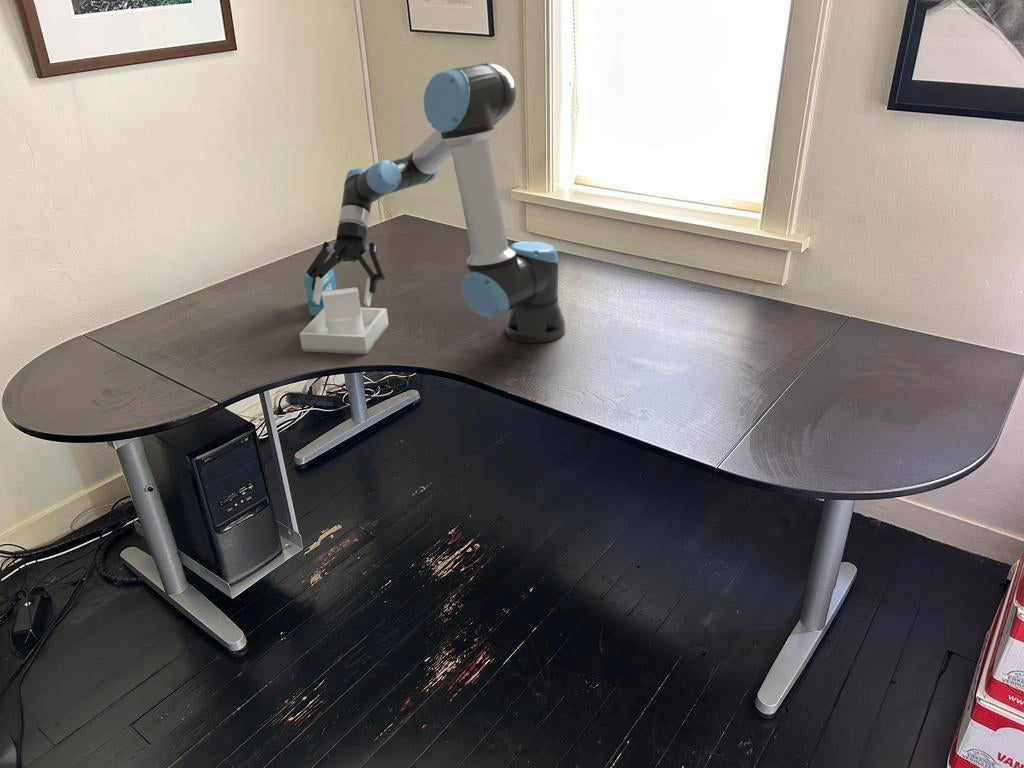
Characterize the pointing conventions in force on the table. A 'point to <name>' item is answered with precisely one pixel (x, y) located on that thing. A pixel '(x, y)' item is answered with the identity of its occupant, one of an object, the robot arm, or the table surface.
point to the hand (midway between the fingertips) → (341, 303)
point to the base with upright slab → (343, 311)
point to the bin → (322, 341)
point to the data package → (328, 285)
